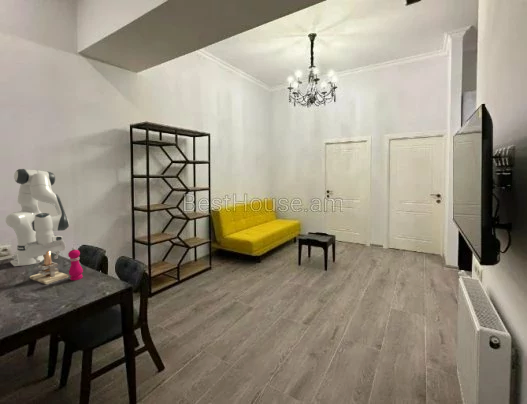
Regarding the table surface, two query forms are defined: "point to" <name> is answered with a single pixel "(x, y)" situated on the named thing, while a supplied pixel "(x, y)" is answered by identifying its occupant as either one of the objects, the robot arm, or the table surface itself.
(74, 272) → the pepper mill
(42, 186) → the robot arm
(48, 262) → the brown rounded cylinder
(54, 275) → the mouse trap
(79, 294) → the table surface
